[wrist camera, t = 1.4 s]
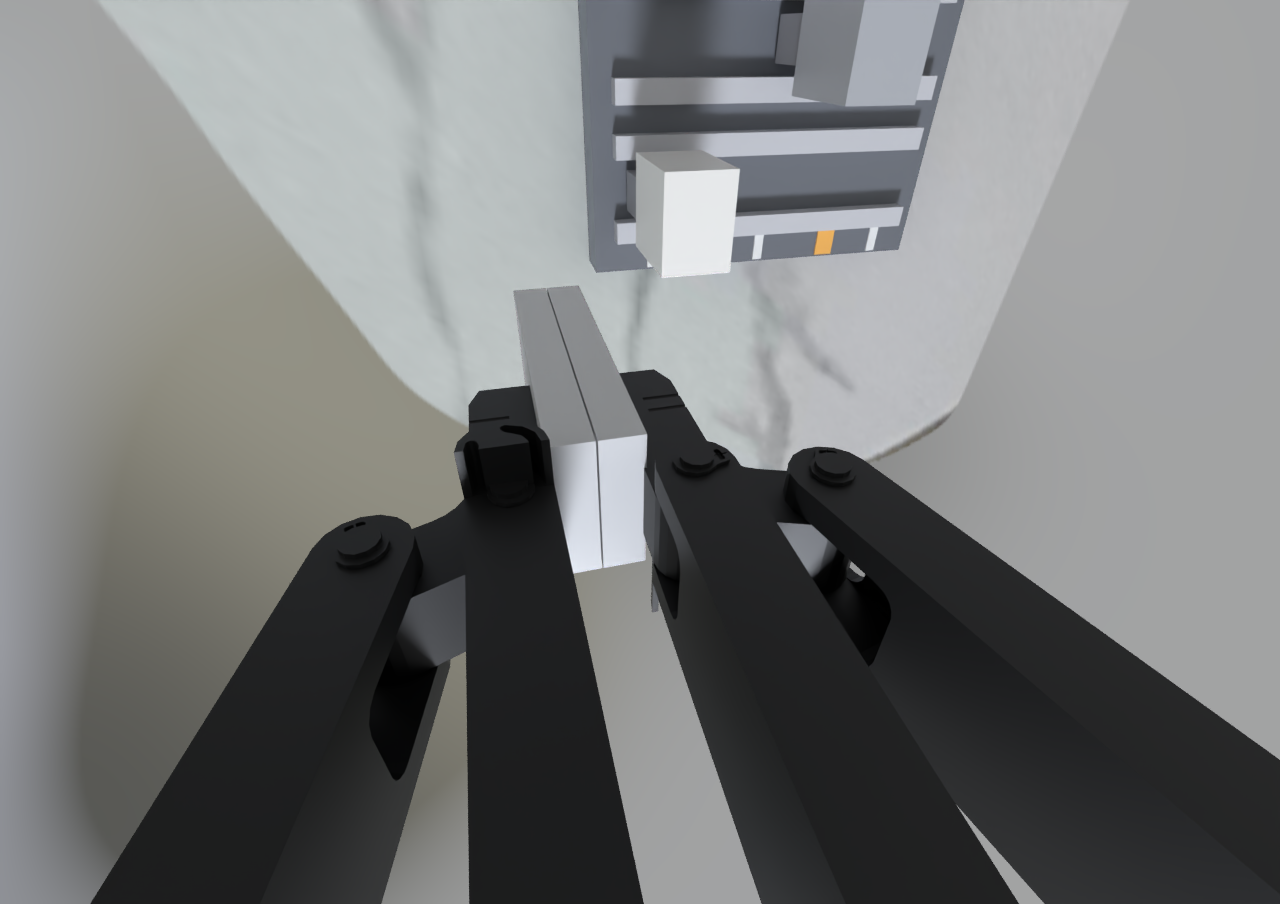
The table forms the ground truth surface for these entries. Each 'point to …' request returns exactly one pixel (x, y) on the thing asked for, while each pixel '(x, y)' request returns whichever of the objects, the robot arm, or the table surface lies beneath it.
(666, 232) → the block
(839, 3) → the pale grey upright box
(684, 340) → the table surface
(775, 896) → the robot arm
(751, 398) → the table surface
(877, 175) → the console
